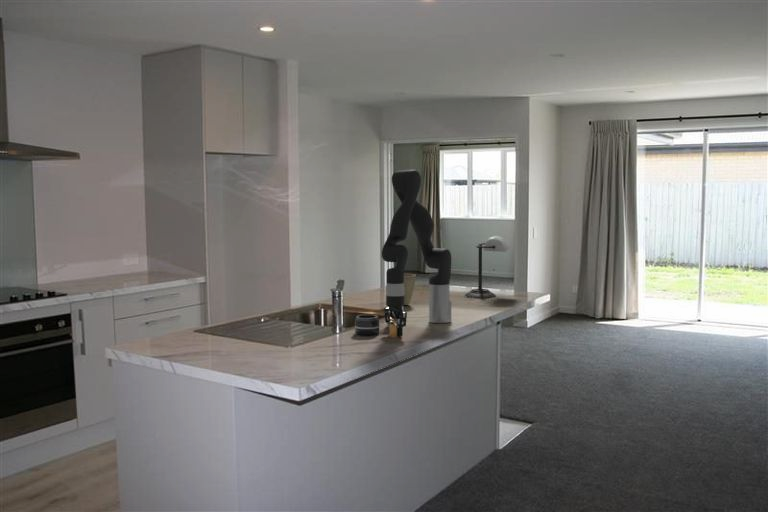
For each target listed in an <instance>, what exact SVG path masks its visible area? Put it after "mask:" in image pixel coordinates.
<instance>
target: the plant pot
mask: <svg viewBox="0 0 768 512" xmlns="http://www.w3.org/2000/svg"><path fill="white" fill-rule="evenodd" d="M416 276H417V275H416V274H414V273H404V294H405V305H408V304H409V305H410V303H411V301H412V297H413V293H414V289H415V285H416V280H417V279H416ZM409 305H408V306H409Z"/></svg>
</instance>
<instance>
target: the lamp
mask: <svg viewBox="0 0 768 512" xmlns="http://www.w3.org/2000/svg"><path fill="white" fill-rule="evenodd" d="M475 247H476V249H478V281H477V282H478V288H473V289H470V290H469V291H468V292H466V293H465V294H464V295H465V296H468V297H467V298H469V297H473V298H472V299H492V298H491V297H493V298H496V297H497V295H496V294H495V293H493V292H492V291H490V290H489V289H488V288H483V251H484V252H487V251H488V252H497V253H499V252H500V253H506V252H508V251H509V250H510V248H509V247H510V246H509V244H508V243H507V240H506V239H505V238H504V237H501V236H500V235H493V236H490V237H489V238H487V239H486V240H485V241H484V242H482V243H478V245H476V246H475ZM492 271H493V272H496V269H495V268H493V269H492ZM465 296H464V297H465Z"/></svg>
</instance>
